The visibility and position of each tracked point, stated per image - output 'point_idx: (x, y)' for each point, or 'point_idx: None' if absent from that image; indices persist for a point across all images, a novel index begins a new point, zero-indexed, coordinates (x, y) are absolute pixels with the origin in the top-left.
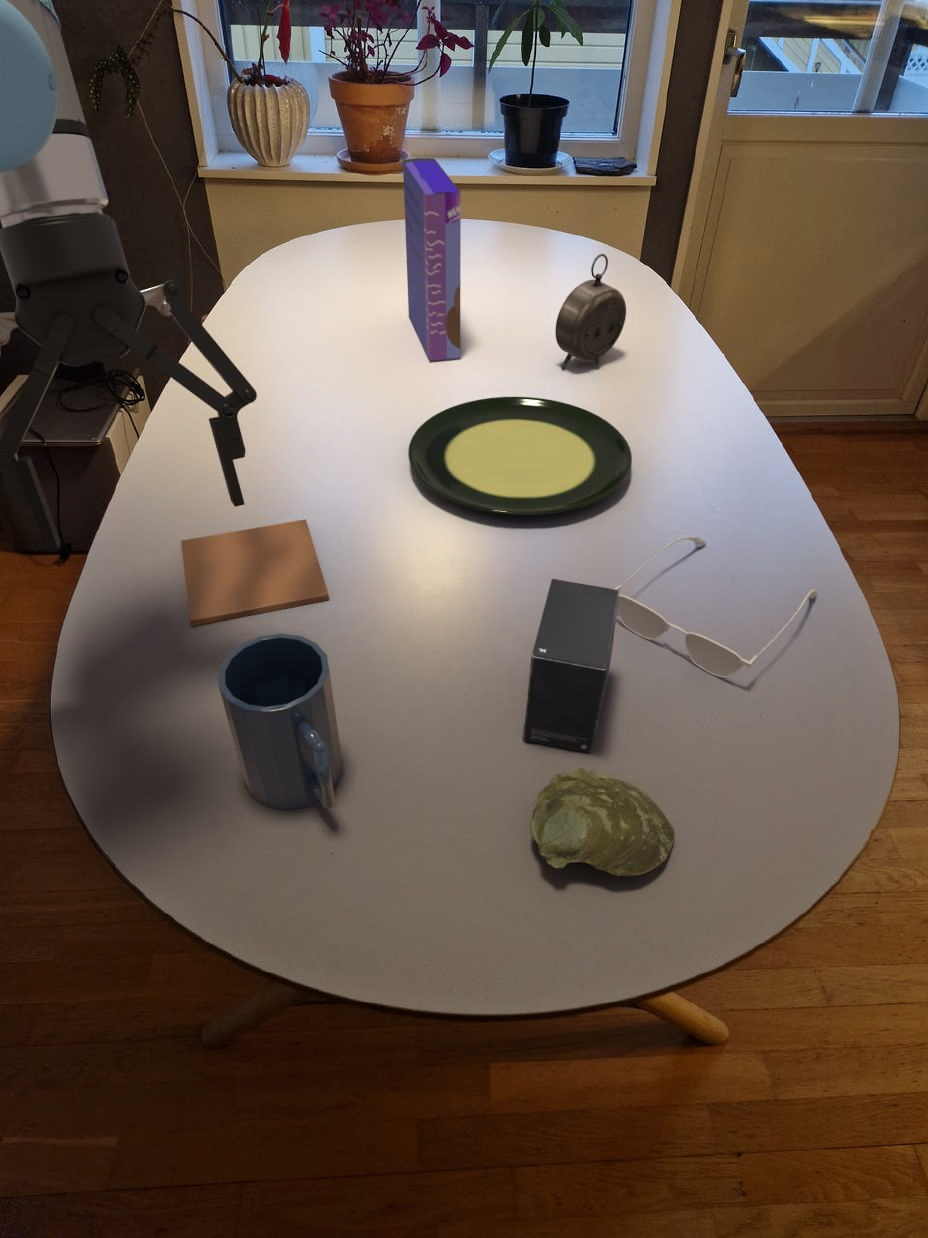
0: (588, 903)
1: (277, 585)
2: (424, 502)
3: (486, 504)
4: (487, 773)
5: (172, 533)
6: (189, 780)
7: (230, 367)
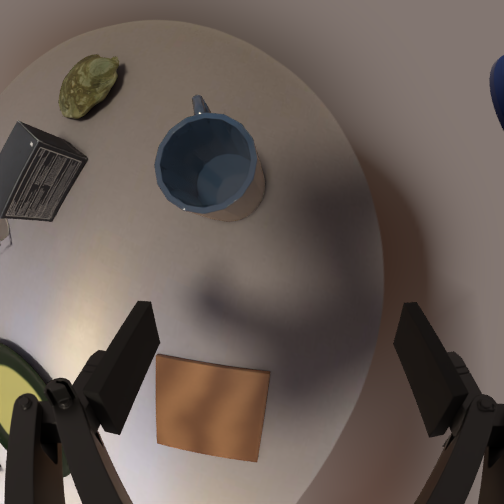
0: (116, 56)
1: (192, 384)
2: None
3: (38, 383)
4: (116, 141)
5: (261, 473)
6: (303, 206)
7: (14, 448)
